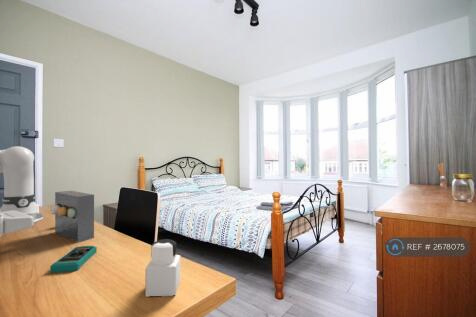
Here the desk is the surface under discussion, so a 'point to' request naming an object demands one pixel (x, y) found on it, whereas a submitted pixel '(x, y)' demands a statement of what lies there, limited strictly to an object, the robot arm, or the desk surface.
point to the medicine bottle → (163, 269)
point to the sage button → (71, 213)
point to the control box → (84, 215)
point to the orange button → (62, 211)
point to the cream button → (55, 209)
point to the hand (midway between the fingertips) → (40, 215)
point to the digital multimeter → (73, 259)
